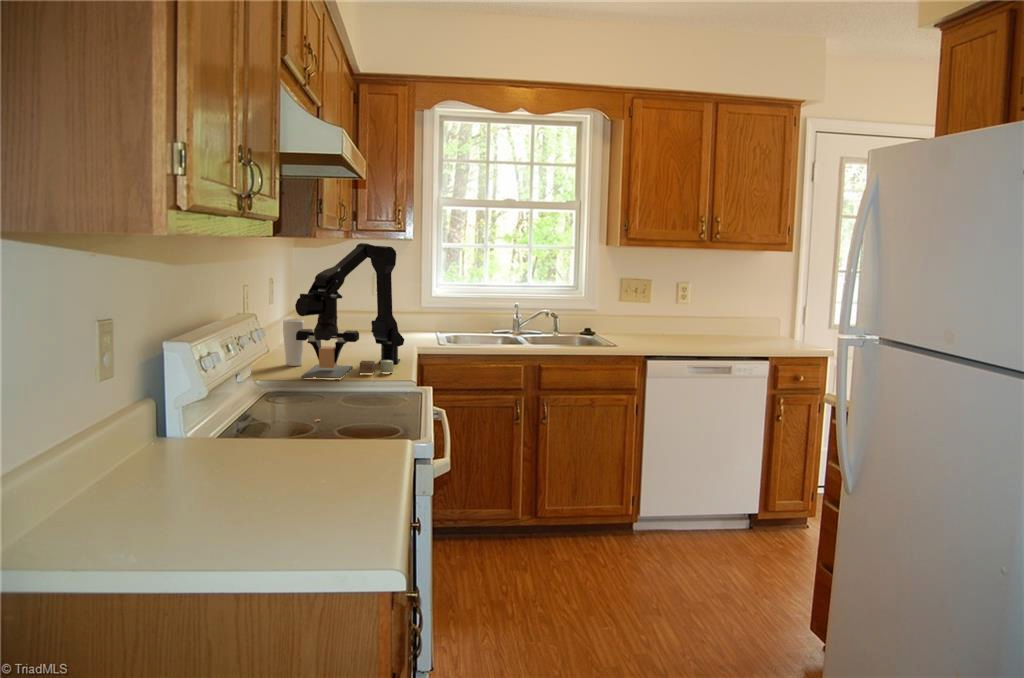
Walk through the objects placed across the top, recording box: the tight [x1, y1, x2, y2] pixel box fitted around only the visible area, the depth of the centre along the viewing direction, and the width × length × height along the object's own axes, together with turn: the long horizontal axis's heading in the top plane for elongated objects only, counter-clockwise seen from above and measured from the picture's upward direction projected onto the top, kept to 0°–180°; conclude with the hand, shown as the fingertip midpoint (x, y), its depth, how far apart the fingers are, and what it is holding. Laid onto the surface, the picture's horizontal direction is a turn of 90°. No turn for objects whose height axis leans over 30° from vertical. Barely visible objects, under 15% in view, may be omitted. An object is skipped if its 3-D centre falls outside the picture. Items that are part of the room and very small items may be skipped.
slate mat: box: [300, 364, 354, 378], centre depth 250 cm, size 18×12×1 cm, turn 0°
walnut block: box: [359, 360, 375, 374], centre depth 252 cm, size 4×4×4 cm
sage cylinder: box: [380, 360, 394, 373], centre depth 254 cm, size 4×4×4 cm
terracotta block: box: [318, 345, 338, 368], centre depth 249 cm, size 4×4×6 cm
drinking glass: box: [282, 318, 305, 367], centre depth 261 cm, size 7×7×15 cm
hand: (328, 362), depth 249 cm, fingers closed on terracotta block, 4 cm apart
